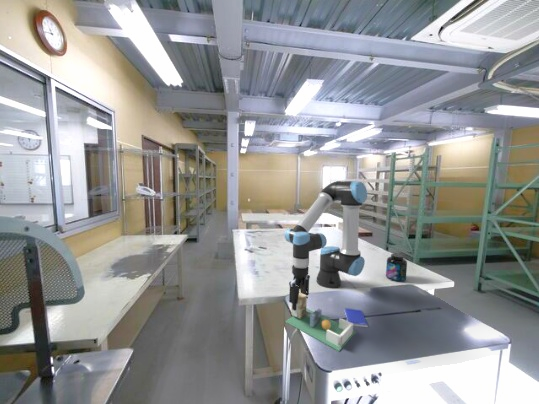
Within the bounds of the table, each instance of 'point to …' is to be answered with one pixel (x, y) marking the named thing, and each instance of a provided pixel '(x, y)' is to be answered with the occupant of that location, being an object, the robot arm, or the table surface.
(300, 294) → the rod slider
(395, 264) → the container
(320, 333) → the pitch mat
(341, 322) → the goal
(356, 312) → the blue flat square slab
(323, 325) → the ball
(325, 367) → the table surface
